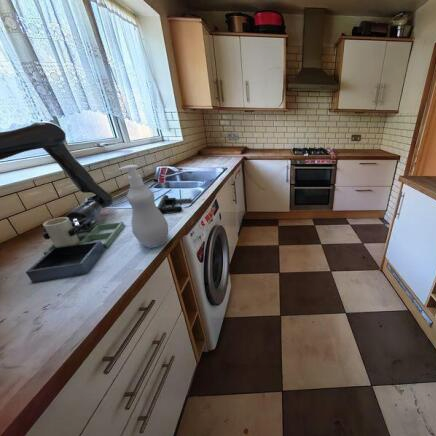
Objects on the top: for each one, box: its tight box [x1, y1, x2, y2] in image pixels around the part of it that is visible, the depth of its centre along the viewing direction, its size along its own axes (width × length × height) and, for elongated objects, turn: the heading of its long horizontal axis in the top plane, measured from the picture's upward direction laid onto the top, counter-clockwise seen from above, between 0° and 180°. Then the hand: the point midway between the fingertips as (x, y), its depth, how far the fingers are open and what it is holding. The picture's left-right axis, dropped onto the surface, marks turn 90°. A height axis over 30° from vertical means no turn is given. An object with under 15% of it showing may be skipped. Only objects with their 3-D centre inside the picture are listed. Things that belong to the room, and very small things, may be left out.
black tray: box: [25, 240, 106, 283], centre depth 74 cm, size 14×14×4 cm
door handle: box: [156, 194, 193, 214], centre depth 118 cm, size 3×20×16 cm
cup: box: [42, 216, 81, 247], centre depth 82 cm, size 7×7×11 cm
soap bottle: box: [117, 164, 169, 249], centre depth 81 cm, size 17×12×29 cm
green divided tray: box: [42, 221, 125, 256], centre depth 88 cm, size 18×18×2 cm
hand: (58, 235), depth 79 cm, fingers closed on cup, 6 cm apart
